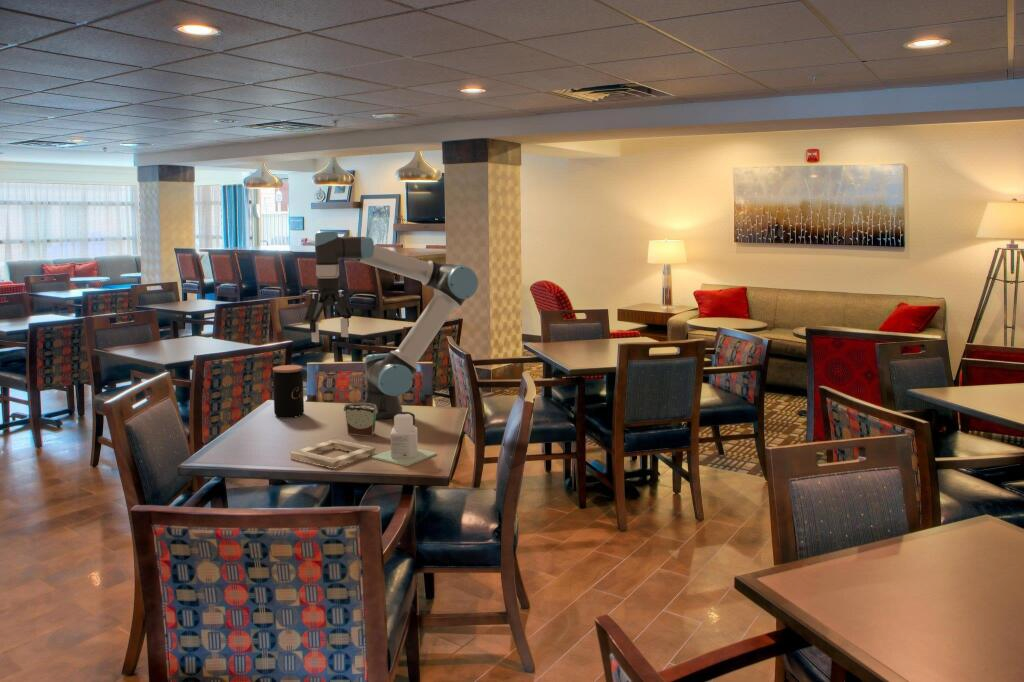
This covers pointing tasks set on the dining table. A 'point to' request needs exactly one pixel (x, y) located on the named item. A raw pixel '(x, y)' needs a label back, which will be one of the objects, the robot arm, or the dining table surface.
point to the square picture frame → (355, 454)
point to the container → (404, 436)
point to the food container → (361, 418)
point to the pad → (404, 461)
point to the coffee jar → (288, 391)
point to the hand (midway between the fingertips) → (330, 339)
